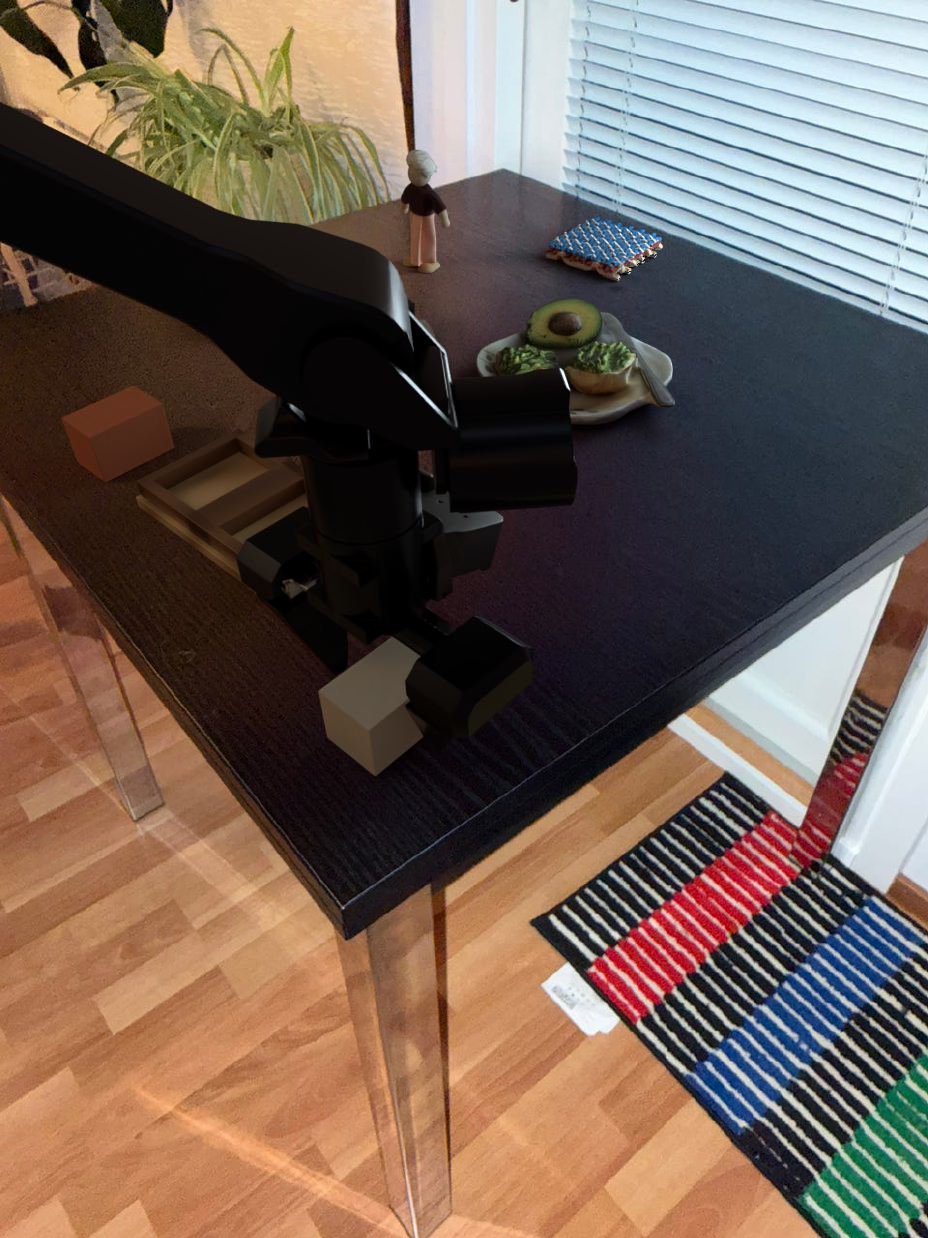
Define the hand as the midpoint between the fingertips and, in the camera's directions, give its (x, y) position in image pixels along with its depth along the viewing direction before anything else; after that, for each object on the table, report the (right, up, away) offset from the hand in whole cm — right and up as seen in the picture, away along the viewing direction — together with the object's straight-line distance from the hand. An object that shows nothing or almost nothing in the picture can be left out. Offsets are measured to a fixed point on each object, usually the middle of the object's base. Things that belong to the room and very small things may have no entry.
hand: (388, 707), depth 58 cm
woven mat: (+21, +48, +51) cm, 73 cm away
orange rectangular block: (-25, +20, +23) cm, 39 cm away
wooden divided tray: (-12, +14, +16) cm, 25 cm away
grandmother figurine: (0, +46, +50) cm, 68 cm away
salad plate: (+15, +29, +32) cm, 45 cm away
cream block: (0, -1, +1) cm, 2 cm away
